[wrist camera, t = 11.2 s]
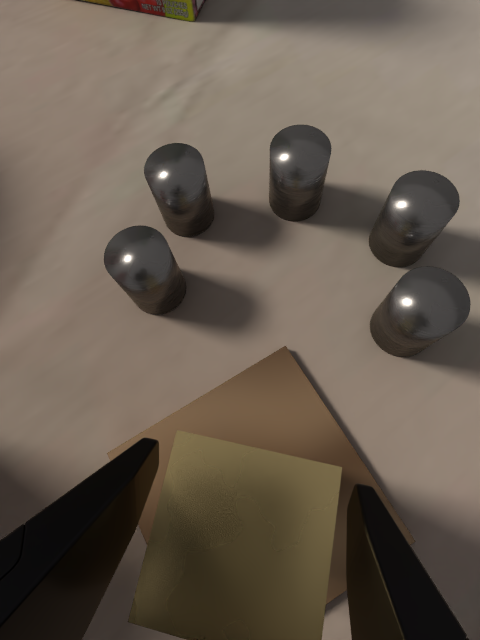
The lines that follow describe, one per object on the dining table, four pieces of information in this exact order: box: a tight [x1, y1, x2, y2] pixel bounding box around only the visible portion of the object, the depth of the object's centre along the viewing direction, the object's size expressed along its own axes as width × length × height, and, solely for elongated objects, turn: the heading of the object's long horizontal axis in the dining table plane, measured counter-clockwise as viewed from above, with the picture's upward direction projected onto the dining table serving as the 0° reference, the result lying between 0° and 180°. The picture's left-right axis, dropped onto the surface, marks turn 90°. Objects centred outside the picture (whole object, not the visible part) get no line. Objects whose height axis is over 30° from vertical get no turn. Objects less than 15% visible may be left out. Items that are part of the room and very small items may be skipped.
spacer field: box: [104, 125, 470, 357], centre depth 19 cm, size 10×16×4 cm, turn 79°
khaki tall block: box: [128, 430, 342, 640], centre depth 13 cm, size 4×4×9 cm
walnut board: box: [107, 346, 415, 604], centre depth 17 cm, size 10×10×1 cm
